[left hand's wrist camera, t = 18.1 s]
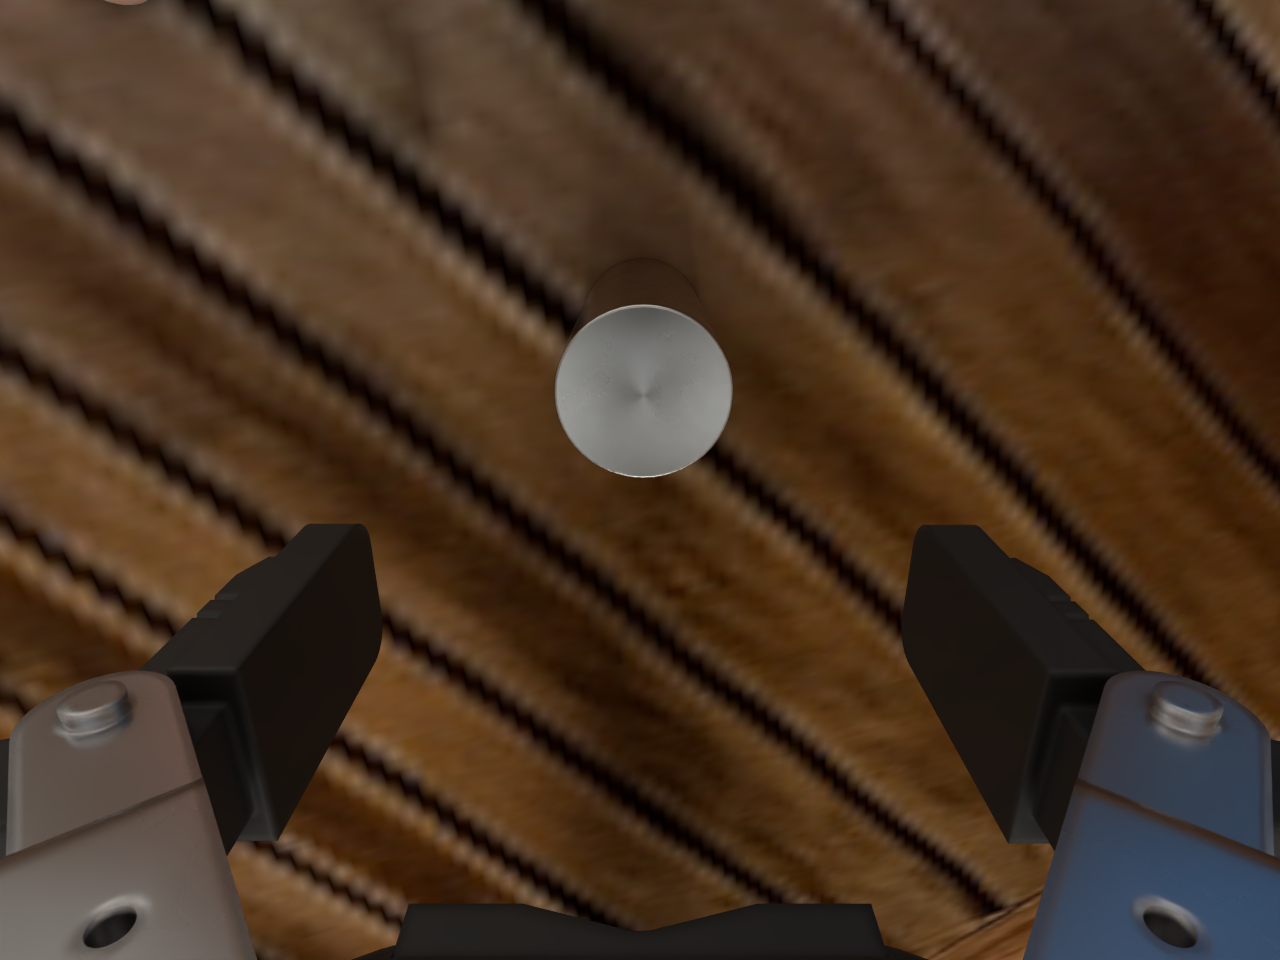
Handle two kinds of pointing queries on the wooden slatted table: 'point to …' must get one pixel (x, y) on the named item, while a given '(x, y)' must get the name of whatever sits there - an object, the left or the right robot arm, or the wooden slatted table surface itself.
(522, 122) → the wooden slatted table surface
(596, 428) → the can
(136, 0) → the anatomical model
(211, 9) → the wooden slatted table surface
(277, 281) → the wooden slatted table surface
